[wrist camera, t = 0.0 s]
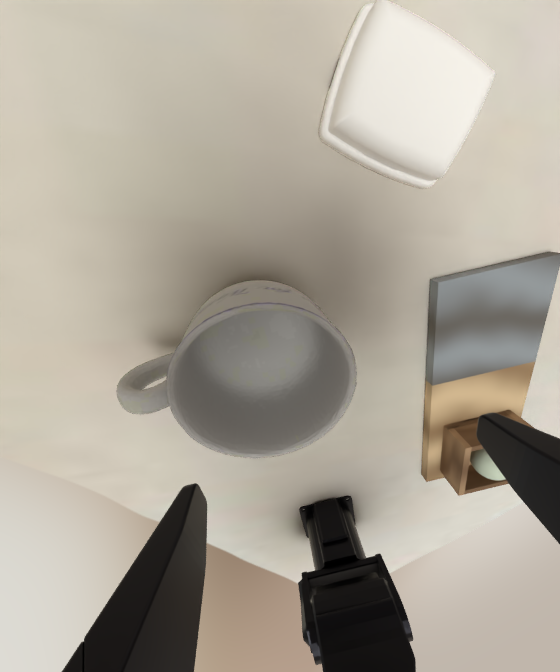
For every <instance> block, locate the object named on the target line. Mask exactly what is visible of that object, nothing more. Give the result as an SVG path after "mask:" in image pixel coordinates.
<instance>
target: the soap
mask: <svg viewBox="0 0 560 672" xmlns="http://www.w3.org/2000/svg"><path fill="white" fill-rule="evenodd" d="M494 77H495V71H494V70H493V69H492V68H491V67H490V66H489V65H487V64H486V63H485V62H484V61H483V60H482V59H481V58H479V57H478V56H477V55H476V54H475V53H473V52H472V51H471V50H470V49H468V48H467V47H466V46H464V45H463V44H462V43H460V42H459V41H458V40H456V39H455V38H454V37H452V36H451V35H449V34H448V33H446V32H445V31H443V30H442V29H440V28H439V27H437V26H436V25H434V24H432V23H431V22H429V21H427V20H426V19H424V18H422V17H420V16H419V15H417V14H415V13H413V12H411V11H409V10H407V9H405V8H404V7H402V6H400V5H397V4H395V3H393V2H391V1H389V0H376V2H375V3H374V4H372V3H369V4H366V5H364V6H363V7H362V9H361V10H360V12H359V14H358V15H357V17H356V19H355V21H354V24H353V26H352V28H351V30H350V32H349V35H348V37H347V39H346V42H345V44H344V47H343V49H342V52H341V54H340V57H339V62H338V65H337V68H336V70H335V73H334V77H333V80H332V83H331V86H330V89H329V90H328V94H327V97H326V101H325V105H324V109H323V113H322V118H321V123H320V127H319V137H320V139H321V141H322V142H323V143H325V144H326V145H328V146H329V147H331V148H333V149H334V150H336V151H337V152H339V153H341V154H342V155H344V156H346V157H347V158H349V159H351V160H353V161H354V162H356V163H358V164H360V165H362V166H364V167H366V168H368V169H370V170H372V171H374V172H376V173H379V174H381V175H383V176H386V177H388V178H391V179H393V180H396V181H399V182H401V183H404V184H407V185H410V186H414V187H417V188H420V189H424V188H429V187H431V186H432V185H433V184H434V183H435V182H436V180H437V179H440V178H442V177H443V176H444V175H445V173H446V172H447V170H448V168H449V167H450V165H451V164H452V162H453V161H454V159H455V157H456V156H457V154H458V152H459V151H460V149H461V147H462V145H463V143H464V142H465V140H466V138H467V136H468V134H469V132H470V130H471V128H472V126H473V124H474V122H475V120H476V118H477V116H478V114H479V112H480V110H481V108H482V106H483V103H484V101H485V99H486V96H487V94H488V92H489V90H490V87H491V85H492V82H493V80H494ZM395 169H396V170H395Z"/></svg>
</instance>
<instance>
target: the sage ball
mask: <svg viewBox="0 0 560 672" xmlns="http://www.w3.org/2000/svg"><path fill="white" fill-rule="evenodd" d="M470 462H471V464H472V466H473V467H474V469H475V470H476V471H477V472H478V473H479V474H481V475H482V476H484V477H486V478H488V479H491V480H505V477H504V476H503V475H502V473H501V472H500V470H499V469H498V468H497V466H496V465H495V463H494V462H493V461H492V459H491V458H490V457H489V455H488V454H487V452H486V451H485V450H484V449H480V450H476V451H472V452H471V455H470Z"/></svg>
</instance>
